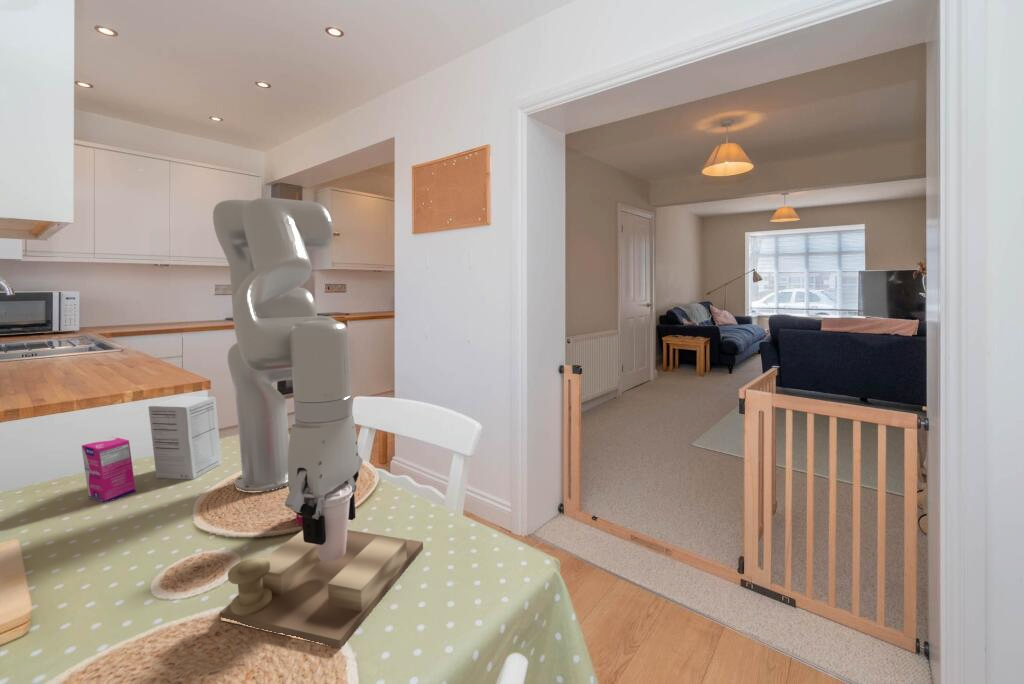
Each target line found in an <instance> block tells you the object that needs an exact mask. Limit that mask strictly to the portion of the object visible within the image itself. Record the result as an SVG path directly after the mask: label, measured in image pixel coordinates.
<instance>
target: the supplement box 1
mask: <svg viewBox="0 0 1024 684" xmlns="http://www.w3.org/2000/svg"><path fill="white" fill-rule="evenodd" d="M81 453H82V458H83V459H82V460H83V466H84V472H85V473H84V474H85V481H86V487H87V493H88V498H89V497H91V498H90V499H93V498H94V500H96V499H97V500H96V501H99V500H100V502H102V501H103V503H104V502H106V503H108V502H107V501H109V502H111V501H114V500H117V499H118V498H119V497H120V498H122V497H125V496H127V494H128V495H131V494H134V493H135V492H136V483H135V477H134V476H135V475H134V469H133V462H132V461H133V460H132V455H131V445H130V440H129V439H126V438H125V439H124V438H121V437H120V438H119V437H116V436H110V437H106V438H104V439H100V440H96V441H92V442H88V443H85V444H82V445H81ZM124 495H125V496H124ZM116 498H117V499H116ZM113 499H114V500H113ZM110 500H111V501H110Z"/></svg>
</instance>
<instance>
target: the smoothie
mask: <svg viewBox="0 0 1024 684" xmlns="http://www.w3.org/2000/svg"><path fill="white" fill-rule="evenodd" d="M310 492H311V493H313V490H311V491H310ZM353 494H354V493H353ZM353 494H352V487H351V486H350V485H349V484H347V483H342V484H341V485H339V486H338V487H336V488H335V489H333V490H332V491H330V492H329V493H327V494H326V495H324V500H323V506H322V511H321V516H324V518H325V534H326V542H325V543H324V544H323V545H318V544H316V547H317V552H318V557H319V559H320V560H322V561H327V562H328V561H334V560H337V559H339V558H341V557H343V556H344V555H345V553H346V541H347V530H349V528H348V527H349V520H348V517H349V506H350V498H351V497H352V495H353ZM314 502H315V499H313V498H310V500H309V505H310V506H312V507H314Z"/></svg>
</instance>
